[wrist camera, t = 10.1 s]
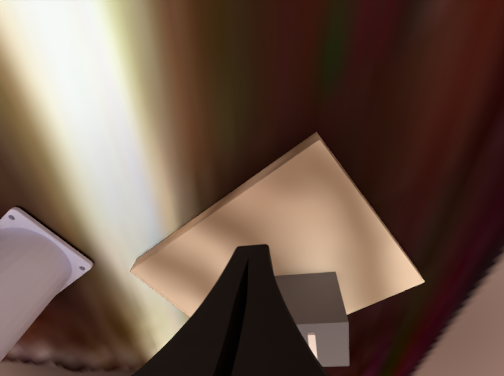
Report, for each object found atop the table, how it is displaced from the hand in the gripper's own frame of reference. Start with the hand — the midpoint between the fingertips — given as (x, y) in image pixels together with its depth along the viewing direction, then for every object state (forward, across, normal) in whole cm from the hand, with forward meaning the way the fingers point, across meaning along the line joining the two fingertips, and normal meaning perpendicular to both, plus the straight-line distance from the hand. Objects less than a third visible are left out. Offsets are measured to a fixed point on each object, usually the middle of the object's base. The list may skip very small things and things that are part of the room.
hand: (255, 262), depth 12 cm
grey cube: (+8, -2, +12) cm, 14 cm away
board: (+9, +1, +9) cm, 13 cm away
